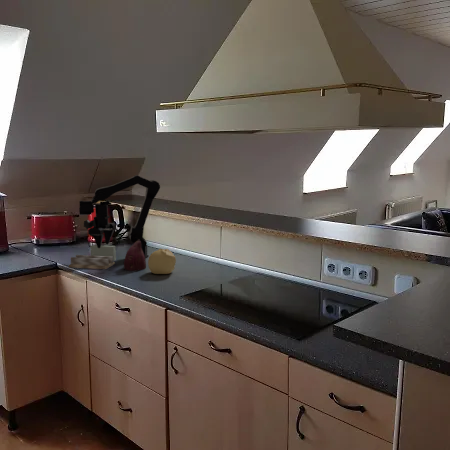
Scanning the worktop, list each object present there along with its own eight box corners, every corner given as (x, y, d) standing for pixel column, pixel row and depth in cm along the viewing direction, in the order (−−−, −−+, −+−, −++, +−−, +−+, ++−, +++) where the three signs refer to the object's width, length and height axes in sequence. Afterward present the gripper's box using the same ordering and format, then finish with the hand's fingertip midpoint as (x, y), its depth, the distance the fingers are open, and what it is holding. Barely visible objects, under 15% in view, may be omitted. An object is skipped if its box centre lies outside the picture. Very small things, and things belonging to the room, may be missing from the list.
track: (114, 263, 227) (114, 255, 226) (105, 269, 217) (105, 260, 216) (79, 262, 230) (79, 253, 229) (68, 267, 220) (68, 258, 220)
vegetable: (149, 274, 221) (157, 243, 219) (133, 276, 213) (142, 244, 210) (133, 265, 227) (141, 235, 224) (117, 267, 218) (125, 235, 215)
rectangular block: (116, 260, 235) (115, 245, 234) (114, 261, 233) (113, 246, 232) (93, 258, 237) (92, 244, 236) (90, 259, 235) (90, 245, 234)
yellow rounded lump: (179, 274, 208) (178, 250, 206) (151, 277, 203) (151, 252, 202) (172, 268, 218) (171, 245, 217) (145, 271, 214) (145, 247, 212)
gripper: (94, 211, 242) (96, 241, 245) (76, 216, 224) (78, 249, 227) (115, 211, 240) (117, 242, 242) (99, 217, 222) (100, 250, 224)
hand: (103, 246), depth 234 cm, fingers open, 9 cm apart
